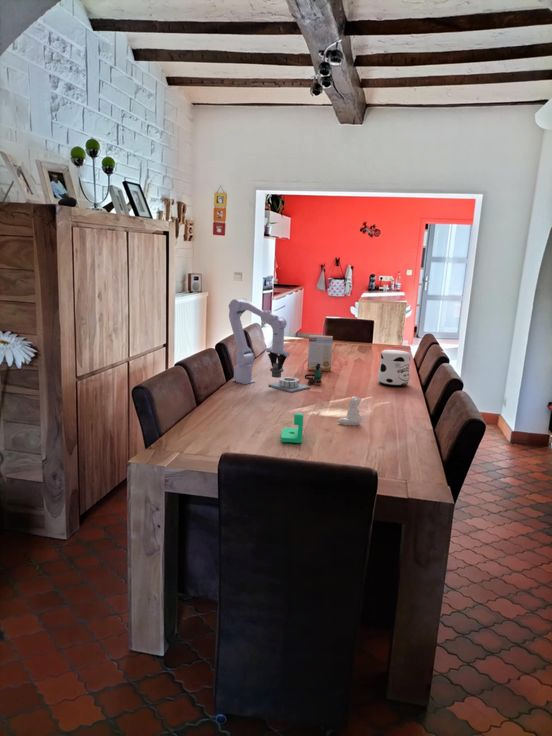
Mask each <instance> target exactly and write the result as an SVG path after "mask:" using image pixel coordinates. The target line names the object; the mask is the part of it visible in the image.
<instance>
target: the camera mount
mask: <svg viewBox="0 0 552 736" xmlns="http://www.w3.org/2000/svg"><path fill="white" fill-rule="evenodd" d="M293 425H294V426H298V427H285V426H284V427H282V432H281V436H280V441H281V442H283V443H295V444H296V443H297V444H299V443H302V441H303V431H304V430H303V429H304V413H297V412H295V413H294V416H293Z"/></svg>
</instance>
